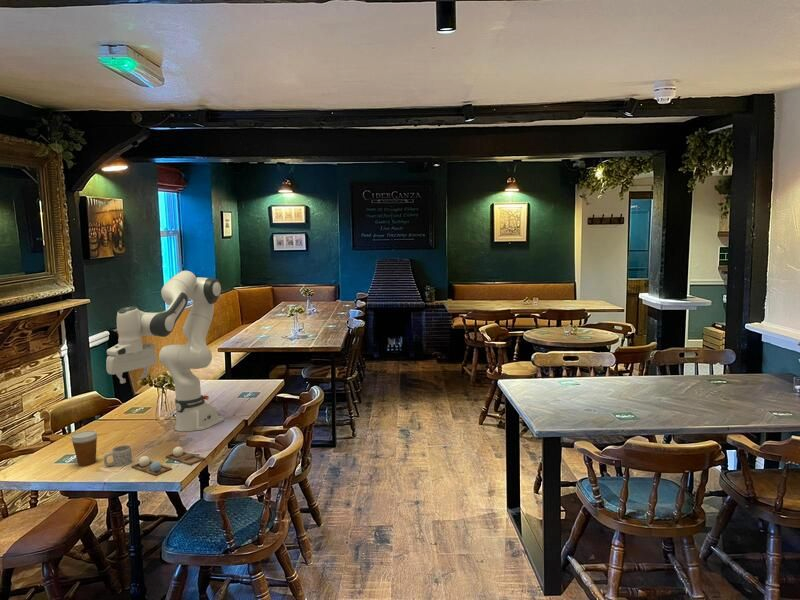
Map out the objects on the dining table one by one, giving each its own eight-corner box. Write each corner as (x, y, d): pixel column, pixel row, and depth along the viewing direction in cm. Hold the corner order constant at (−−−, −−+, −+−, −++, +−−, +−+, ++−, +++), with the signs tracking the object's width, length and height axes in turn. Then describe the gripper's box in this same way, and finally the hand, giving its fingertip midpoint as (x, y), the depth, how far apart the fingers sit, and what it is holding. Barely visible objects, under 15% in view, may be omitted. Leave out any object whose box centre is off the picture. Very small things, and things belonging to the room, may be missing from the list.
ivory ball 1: (146, 463, 233) (145, 453, 233) (152, 465, 231) (151, 455, 231) (137, 467, 230) (136, 457, 230) (143, 469, 228) (142, 459, 227)
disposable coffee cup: (70, 463, 238) (67, 434, 236) (95, 456, 244) (92, 428, 243) (77, 469, 231) (74, 440, 230) (103, 462, 238) (100, 433, 236)
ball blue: (159, 465, 228) (153, 458, 226) (165, 467, 226) (159, 460, 224) (151, 473, 225) (145, 466, 223) (157, 475, 223) (152, 468, 221)
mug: (130, 459, 240) (128, 444, 239) (134, 464, 234) (132, 448, 233) (103, 466, 234) (101, 450, 233) (106, 471, 228) (104, 455, 227)
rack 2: (165, 459, 239) (165, 456, 239) (180, 453, 245) (180, 450, 244) (190, 467, 230) (190, 463, 230) (205, 460, 236) (205, 457, 235)
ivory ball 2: (179, 453, 242) (178, 444, 242) (185, 455, 240) (185, 446, 240) (171, 457, 239) (170, 447, 239) (177, 459, 237) (176, 449, 236)
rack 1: (131, 469, 230) (131, 465, 230) (147, 462, 236) (147, 459, 235) (155, 477, 221) (155, 474, 221) (172, 471, 227) (172, 467, 226)
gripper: (149, 341, 251) (152, 373, 252) (102, 351, 234) (105, 385, 236) (158, 343, 247) (161, 375, 249) (111, 352, 230) (114, 387, 232)
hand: (133, 380), depth 242 cm, fingers open, 8 cm apart
